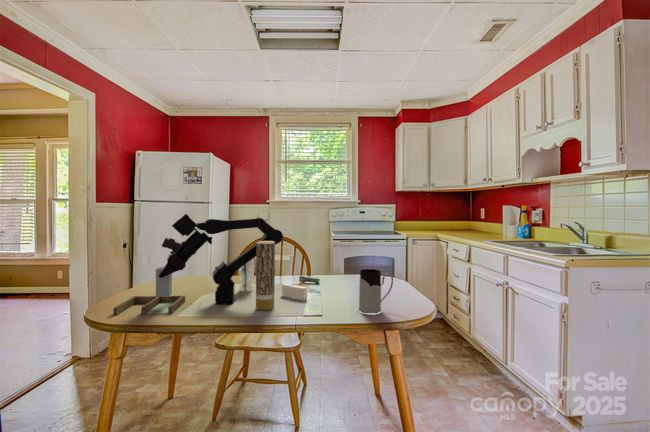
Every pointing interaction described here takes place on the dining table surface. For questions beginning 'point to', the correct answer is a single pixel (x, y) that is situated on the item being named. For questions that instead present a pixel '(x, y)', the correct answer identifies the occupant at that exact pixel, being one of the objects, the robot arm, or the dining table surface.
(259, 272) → the bark textured cylinder
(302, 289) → the white rectangular block
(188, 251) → the robot arm
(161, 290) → the tall grey square prism
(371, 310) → the grey mug
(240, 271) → the white streaked block
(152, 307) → the comb rack
